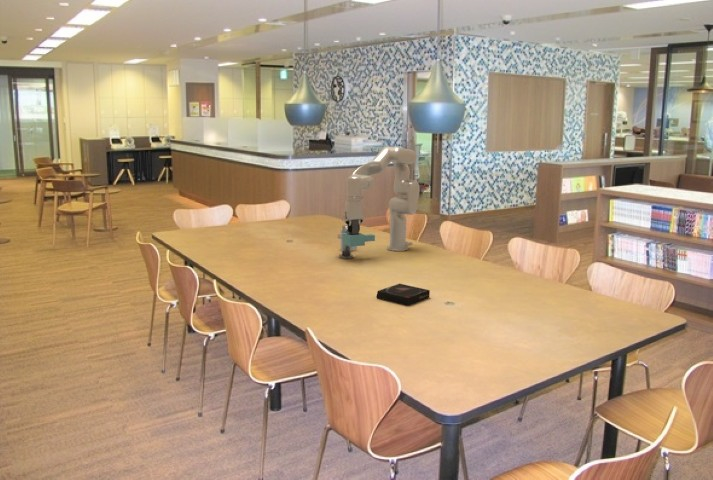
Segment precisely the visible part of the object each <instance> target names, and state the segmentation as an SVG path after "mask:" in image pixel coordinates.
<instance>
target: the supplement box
mask: <svg viewBox="0 0 713 480" xmlns="http://www.w3.org/2000/svg"><path fill="white" fill-rule="evenodd" d="M340 234H342V229H340ZM339 244H340V245H339V246H340V247H339V249H340V251H342V239H340V243H339ZM357 250H358V246H354V247H351V248H350V252H353V251H357Z"/></svg>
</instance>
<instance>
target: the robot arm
mask: <svg viewBox="0 0 713 480" xmlns="http://www.w3.org/2000/svg"><path fill="white" fill-rule="evenodd" d="M416 161H417V153H416V152H415V151H414V149H410V148H405V147H401V146H385V147H383V148H382V149H381V150H380V151H379V152H378V154H377V155H375V156H374V158H373V159H372V160H371V161H368V162H366V163H364V164H362V165H361V166H359V167H357V169H355V170H354V172H353V173H352V174H351V175H350V176H348V177H347V181H346V183H347V184H346V186H347V188H346V189H347V190H346V191H347V193H346V196H347V197H346V198H347V199H346V201H345V202H344V203H345V204H344V209H343V218H342V219H341V221H342V222H344V223H345V225H348V232H349V233H352V226H351V222H352V219H359V231H360V230H361V224H362V222H365V220H366V216H365V215H364V207H363V206H364V205H363V201H362V200H363V199H364V196H362V190H370V189H372V188H373V187H374V185H375V181H374V178H373V177H372V175H377V174H381V173H382V172H383V171H384V170H385V169H386V168H387V167H388V166H389V164H391V163H392V164H393V166H394V169H395V173H394V175H395V176H394V181H393V182H394V183H393V192H394V193H395V194H396V195H399V196H394V197H392V198H391V199H390V200H389V202H388V209H389V214H390V215H389V216H390V217H389V218H390V220H389V221H390V222H389V224H390V225H389V245H388V246H387V247H386V249H387V250H388V251H393V252H405V250H406V251H408V249H409V247H408V246H413V242H412V241H411V242H410V241H407V240H406V239H407V237H406V236H407V235H406V233H407V219H406V216H405V215H412V216H413V215H414V214H416V212H417V210H418V205H419V199H420V198H419V197H420V184H419V182H418V181H417V180H415V179H410V173H411V171H410V168H409V165H412V164H414V163H416ZM402 196H406V197H402Z"/></svg>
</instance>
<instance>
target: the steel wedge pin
mask: <svg viewBox="0 0 713 480" xmlns="http://www.w3.org/2000/svg"><path fill="white" fill-rule="evenodd" d="M351 226H352V233H349V235H359V233H360V230H359V219H352V222H351Z"/></svg>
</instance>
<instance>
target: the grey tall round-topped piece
mask: <svg viewBox="0 0 713 480" xmlns="http://www.w3.org/2000/svg"><path fill="white" fill-rule="evenodd" d="M341 230H342V233H349V232H348V225H347V224H345V225H344V224H343V225H342V227H341ZM337 239H340V240H341V239H342V234H341V233H339V234H337ZM350 248H351V247H349V246H347V245H344V244H342V250H341V254H339V256H338V257H339V258H340V259H342V260H345V259H346V260H349V259H353V258H354V254H351V251H350Z"/></svg>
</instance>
